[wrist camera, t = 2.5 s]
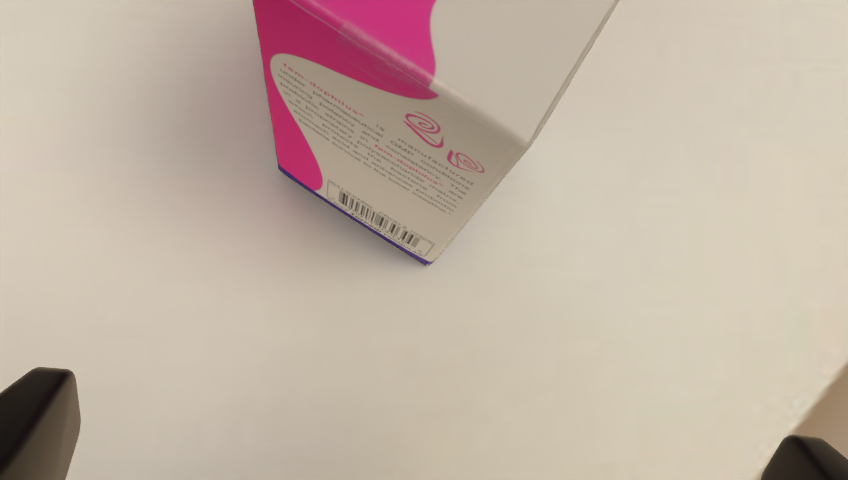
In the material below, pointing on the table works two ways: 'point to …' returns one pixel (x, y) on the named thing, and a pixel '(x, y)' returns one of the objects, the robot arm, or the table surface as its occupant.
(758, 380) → the table surface
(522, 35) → the supplement box
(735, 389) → the table surface
